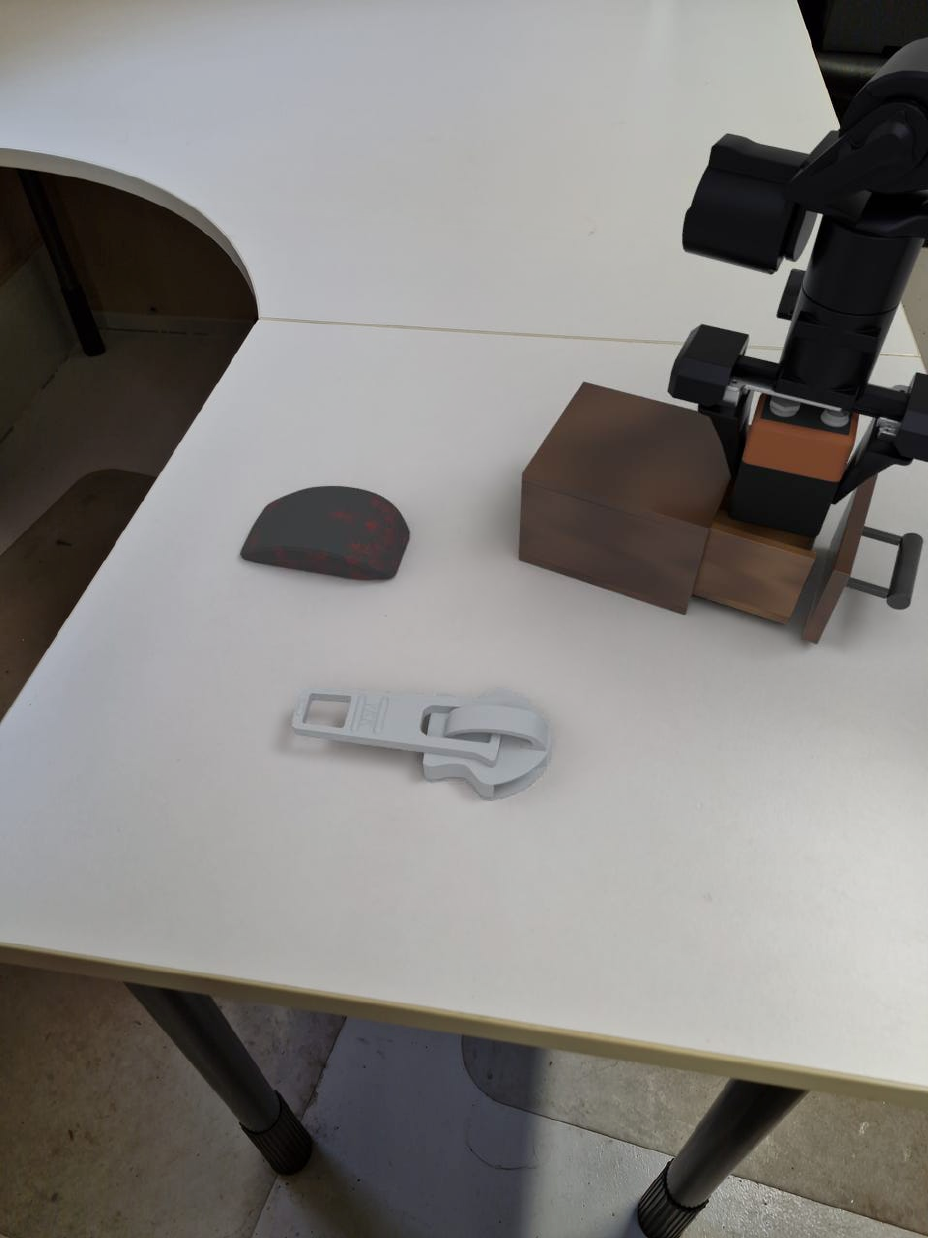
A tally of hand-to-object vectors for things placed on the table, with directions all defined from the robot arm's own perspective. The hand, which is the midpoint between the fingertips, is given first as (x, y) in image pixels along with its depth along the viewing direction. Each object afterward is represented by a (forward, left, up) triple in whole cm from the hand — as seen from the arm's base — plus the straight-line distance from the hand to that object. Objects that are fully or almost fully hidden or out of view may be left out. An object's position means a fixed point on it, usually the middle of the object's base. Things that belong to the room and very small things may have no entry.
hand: (783, 486), depth 64 cm
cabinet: (+11, 0, -10) cm, 15 cm away
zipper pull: (+17, +26, -10) cm, 33 cm away
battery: (0, 0, -3) cm, 3 cm away
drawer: (-2, 0, -9) cm, 9 cm away
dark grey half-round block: (+34, +12, -10) cm, 37 cm away
